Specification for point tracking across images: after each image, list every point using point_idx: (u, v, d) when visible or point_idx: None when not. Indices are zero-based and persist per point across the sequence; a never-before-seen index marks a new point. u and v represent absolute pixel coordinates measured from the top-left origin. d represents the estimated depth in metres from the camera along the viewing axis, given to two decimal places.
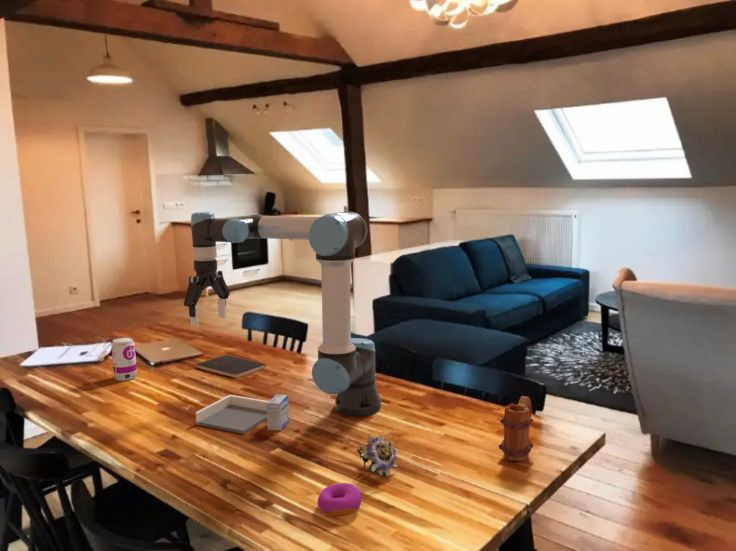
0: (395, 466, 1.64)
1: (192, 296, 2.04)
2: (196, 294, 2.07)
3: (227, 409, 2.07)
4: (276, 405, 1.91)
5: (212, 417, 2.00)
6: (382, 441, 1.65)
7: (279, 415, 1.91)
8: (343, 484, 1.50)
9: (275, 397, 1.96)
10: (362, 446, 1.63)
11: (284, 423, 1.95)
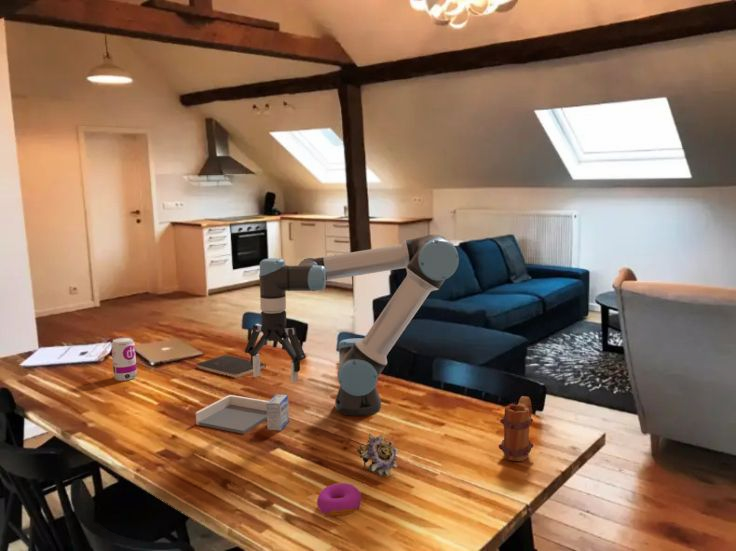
0: (395, 466, 1.64)
1: (249, 343, 1.94)
2: None
3: (227, 409, 2.07)
4: (276, 405, 1.91)
5: (212, 417, 2.00)
6: (382, 441, 1.65)
7: (280, 415, 1.91)
8: (343, 484, 1.50)
9: (275, 397, 1.96)
10: (362, 446, 1.63)
11: (284, 423, 1.95)
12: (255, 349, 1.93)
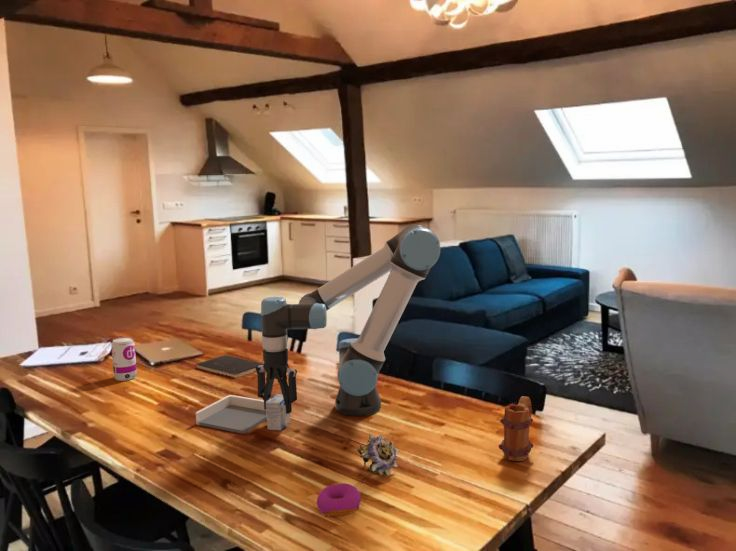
0: (395, 466, 1.64)
1: (259, 387, 1.95)
2: None
3: (227, 409, 2.07)
4: (276, 405, 1.91)
5: (212, 417, 2.00)
6: (382, 441, 1.65)
7: (279, 415, 1.91)
8: (342, 484, 1.50)
9: (275, 397, 1.96)
10: (362, 446, 1.63)
11: None
12: (266, 392, 1.94)
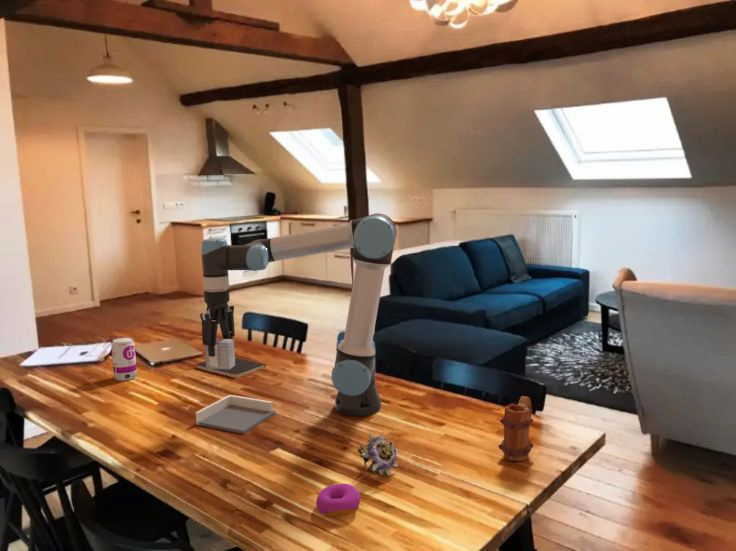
0: (396, 465, 1.64)
1: (209, 335, 1.89)
2: (212, 331, 1.92)
3: (227, 409, 2.07)
4: (232, 341, 1.96)
5: (212, 417, 2.00)
6: (383, 441, 1.65)
7: None
8: (342, 485, 1.50)
9: None
10: (363, 446, 1.63)
11: None
12: (215, 337, 1.92)
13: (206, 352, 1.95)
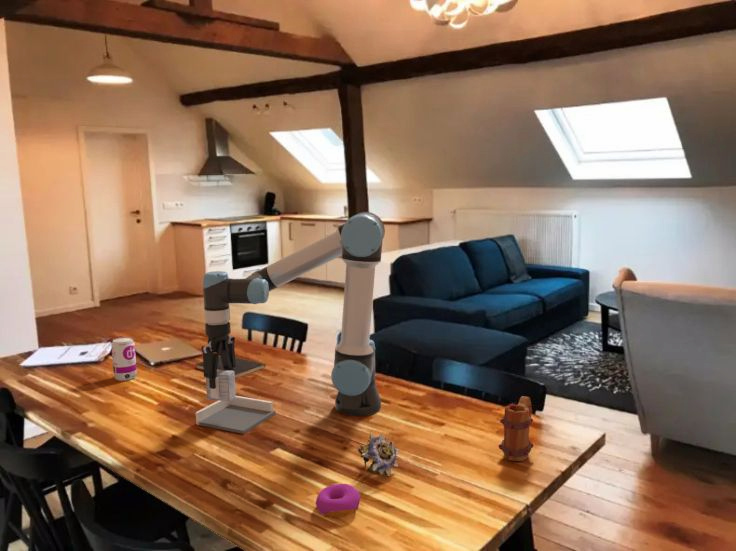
0: (396, 465, 1.64)
1: (210, 367, 1.91)
2: (213, 364, 1.93)
3: (227, 409, 2.07)
4: (233, 373, 1.98)
5: (212, 417, 2.00)
6: (383, 440, 1.65)
7: (234, 382, 1.99)
8: (341, 485, 1.50)
9: None
10: (363, 446, 1.63)
11: None
12: (216, 369, 1.94)
13: (207, 384, 1.97)
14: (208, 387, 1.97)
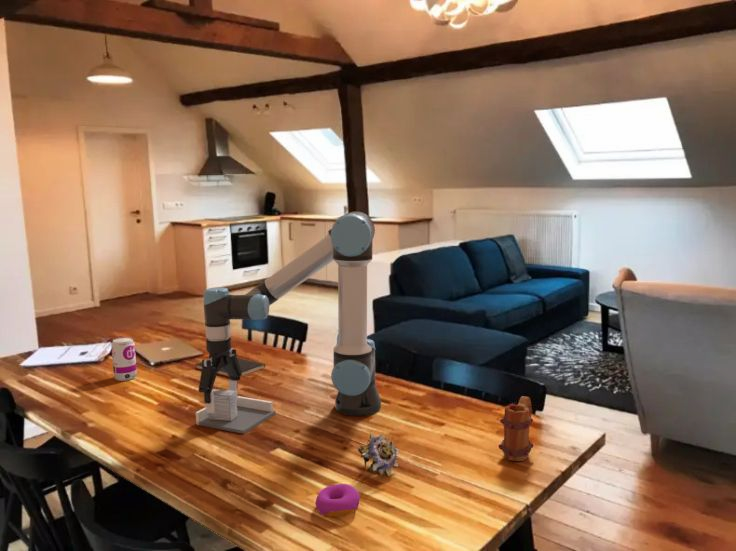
0: (396, 465, 1.64)
1: (207, 382, 1.90)
2: (211, 378, 1.93)
3: None
4: (234, 393, 1.98)
5: None
6: (383, 440, 1.65)
7: (236, 401, 2.00)
8: (341, 485, 1.50)
9: (216, 392, 1.98)
10: (363, 445, 1.63)
11: None
12: (212, 384, 1.92)
13: None
14: None
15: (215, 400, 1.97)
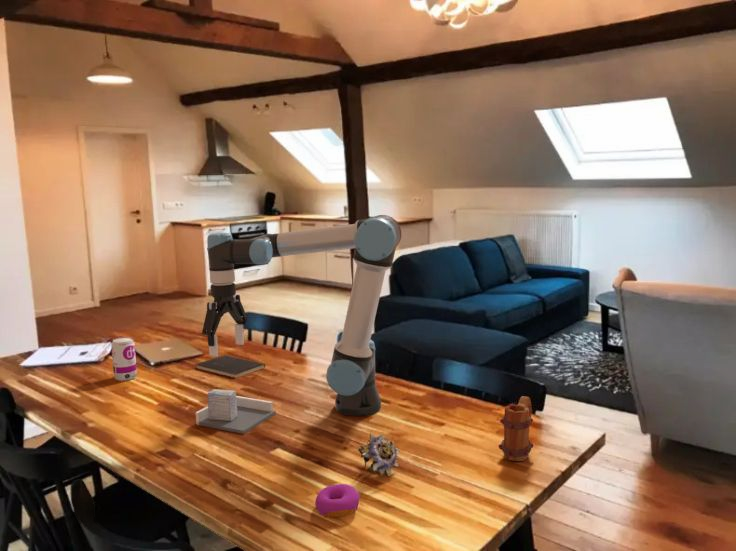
0: (396, 465, 1.64)
1: (211, 324, 1.90)
2: (215, 321, 1.93)
3: None
4: (234, 393, 1.98)
5: None
6: (383, 440, 1.65)
7: (236, 401, 2.00)
8: (341, 485, 1.49)
9: (216, 392, 1.98)
10: (363, 445, 1.63)
11: None
12: (216, 327, 1.92)
13: (209, 404, 1.98)
14: (210, 407, 1.98)
15: (215, 400, 1.97)
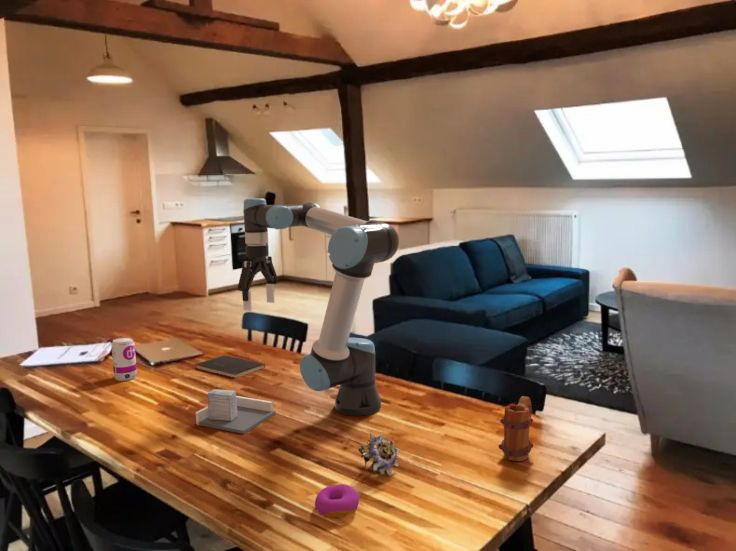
0: (396, 465, 1.65)
1: (246, 280, 2.08)
2: (249, 278, 2.11)
3: None
4: (234, 393, 1.98)
5: None
6: (383, 440, 1.65)
7: (236, 401, 2.00)
8: (340, 485, 1.49)
9: (216, 392, 1.98)
10: (363, 445, 1.63)
11: None
12: (250, 284, 2.10)
13: (209, 404, 1.98)
14: (210, 407, 1.98)
15: (215, 400, 1.97)
